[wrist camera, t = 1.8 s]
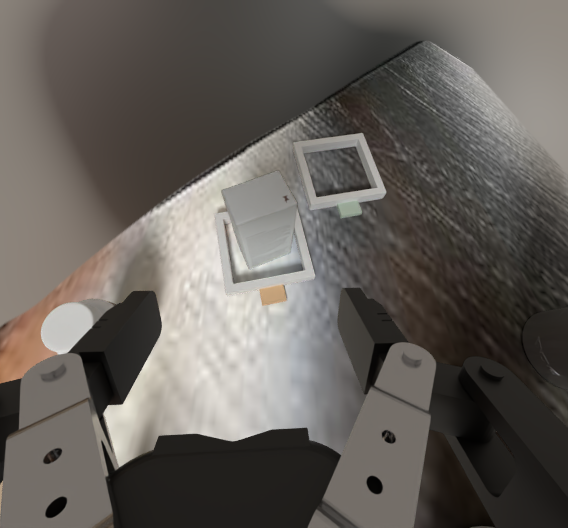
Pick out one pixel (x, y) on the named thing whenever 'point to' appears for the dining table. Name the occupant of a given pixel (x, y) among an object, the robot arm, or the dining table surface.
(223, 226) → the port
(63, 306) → the supplement bottle
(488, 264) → the dining table surface
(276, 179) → the skincare box
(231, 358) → the dining table surface
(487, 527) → the cylinder vase
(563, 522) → the robot arm
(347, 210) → the frame
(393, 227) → the dining table surface
